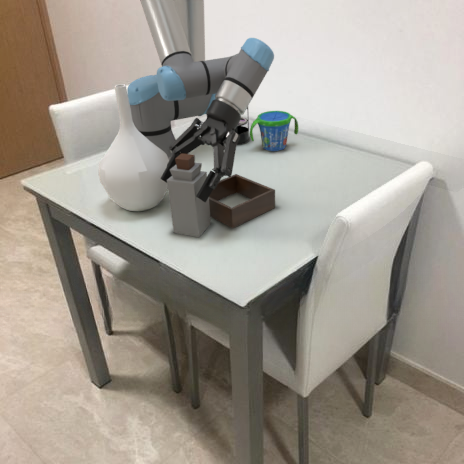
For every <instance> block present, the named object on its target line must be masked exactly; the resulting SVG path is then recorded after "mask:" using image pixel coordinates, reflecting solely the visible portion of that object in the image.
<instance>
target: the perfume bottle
mask: <svg viewBox="0 0 464 464" xmlns="http://www.w3.org/2000/svg"><path fill="white" fill-rule="evenodd" d="M180 153H181V152H180ZM195 159H196V157H195V154H192V153H188V154H183V153H181V154H180V155H179V156H178V157H176V158H175V161H176V165H175V166H174V167H172V168H171V169H170V172H171V174H172V176H171V177H170V178H169V179H168V180H167V186H168V190H167V193H168V200H169V207H170V215H171V222H172V229H173V234H178V235H184V236H189V237H195V238H200V237H201V236H202V235H203V234H204V232H205V231H206V230H207V229H208V228H209V227H210V226H211V224H212V218H211V217H210V206H209V197H208V199H207V201H206V203H205V202H203V201H202V200H200V199H199V198H197V197H196V196H197V194H198V192H199V190H200V189H201V187H202V185H203V183H204V181H205V180H206V178H207V176H208V172H207V171H204V170H203V171H202V166H203V163H202V162H196V161H195Z"/></svg>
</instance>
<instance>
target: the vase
mask: <svg viewBox="0 0 464 464" xmlns="http://www.w3.org/2000/svg"><path fill="white" fill-rule="evenodd" d="M127 89H128V88H127V85H126V84H124V83H120V84H116V85H114V92H115V93H114V94H115V98H116V105H117V112H118V118H119V129H118V133H117V134H116V136H115V138H114V139H113V141H112V142H111V144H110V146H109V148H108V149H107V150H106V152H105V153H104V154H103V155H102V157H101V158H100V160H99V161H98V178H99V181H100V184H101V185H102V187H103V189H104V191H105V192H106V194H107V195H108V197H109V198H110V200H112V202H113V203H115V204H116V205H117V206H119V207H120V208H122V209H123V210H125V211H130V212H143V211H148V210H150V209H153V208H155V207H157V206H158V205H159V204H160V202H162V201H163V199H164V197H165V195H166V194H167V193H168V186H167V183H166V182H165V181H163V180H161V179H160V178H161V177H162V175H163V173H164V171H165V169H166V167H167V164H168V162H169V159H168V157H167V154H166V153H165V152H164V151H162V150H161V149H160V148H158V147H157V146H156V145H154V144H153V143H152V142H150V141H149V140H148V139H147V138H146V137H145V136H144V135H142V134H141V133H140V132H139V131H138V130H137V128H136V127H135V125H134V123H133V121H132V115H131V109H130V104H129V99H128V93H127Z"/></svg>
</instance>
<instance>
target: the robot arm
mask: <svg viewBox="0 0 464 464" xmlns="http://www.w3.org/2000/svg"><path fill="white" fill-rule="evenodd" d="M140 5H141V8H142V10H143V14H144V16H145V19H146V22H147V25H148V29H149V32H150V34H151V37H152V41H153V43H154V47H155V49H156V52H157V56H158V59H159V61H160V65H161V66H160V67H158V68H157V70H156V73H155V74H154V75H153V74H150V75H149V74H148V75H145V76H142V77H138V78H137V79H134V80H132V82H130V83H129V84H128V87H127V88H126V89H127V94H128V99H129V104H130V109H131V115H132V121H133V123H134V125H135V127H136V128H137V130H138V131H139V132H140V133H141V134H142V135H144V136H145V137H146V138H147V139H148V140H149V141H150V142H152V143H153V144H154V145H156V146H157V147H158V148H160V149H161V150H162V151H164V152H165V153H166V154H167V157H168V159H169V162H168V164H167V167H166V169H165V171H164V173H163V175H162V177H161V178H160V179H161V180H163V181H165V182H166V183H167V180H168V179H169V178H170V177H171V176H172V174H171V172H170V169H171V168H172V167H174V166H175V165H176V161H175V158H176V157H178V156H179V155H180V154H181V153H183V154H191V152H193V151H194V150H196V149H197V148H199V147H200V146H204V145H206V146H211V147H212V153H213V168H212V169H211V170H210V171H209V172H208V173H207V178H206V180H205V181H204V183H203V185H202V187H201V189H200V190H199V192H198V194H197V196H196V197H197V198H199V199H200V200H202V201H203V202H205V203H206V201H207V199H208V197H209V196H210V194H211V192H212V190H213V189H215V188H216V186H217V185H218V183H219V181H220V180H222V178H224V177H230V176H232V175H233V169H234V163H235V159H236V151H237V146H238V145H237V143H238V141H239V139H240V136H239V135H238V134H237V133H236V132H235V131H234V130H235V129H236V127H237V125H238V124H239V122H240V120H241V117H242V115H244V114H245V112H246V111H247V107H248V108H249V105H250V103H251V102H252V100H253V98H254V97H255V95H256V93H257V91H258V89H259V87H260V86H261V84H262V82H263V81H264V79H265V77H266V76H267V74H268V72H269V71H270V68H271V66H272V64H273V62H274V60H275V54H274V51H273V49H272V48H271V47H270V46H269V45H268V44H267V43H266V42H264V41H263V40H261V39H259V38H256V37H249V38H247V39H246V40H245V41H244V43H243V44H242V45H241V47H240V50H239V52H238V53H236V54H233V55H230V56H226V57H225V56H224V57H219V58H213V59H206V34H205V33H206V32H205V30H206V29H205V28H206V27H205V0H140ZM204 115H206V118H205V120H204V121H202V120H201V119H200V118H198V117H202V116H204ZM189 118H194V119H193V121H192V122H191V124H190V125H189V127H187V128H186V129H185V130H184V131H183V132H182V133H181V134H180V135H179V136H178V137H177V138H176V137H175V135H174V132H173V130H172V121H178V120H184V119H189ZM225 140H226V143H225Z"/></svg>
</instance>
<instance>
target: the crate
mask: <svg viewBox="0 0 464 464" xmlns="http://www.w3.org/2000/svg"><path fill="white" fill-rule="evenodd" d="M235 194H238V195H240V196H243V197H245V198H247V199H248V200H246V201H243V202H241V203H239V204H237V205H235V206H233V207H232V206H229V205H228V204H225V203H223V202H222V201H221V200H224V199H226V198H228V197H231V196H233V195H235ZM209 206H210V218H211V219H213V220H215V221H217V222H218V223H219V222H220V223H221V224H223V225H225V226H227V227H229V228H231V229H235V228H237V227H239V226H241V225H243V224H244V223H247V222H249V221H251V220H254V219H255V218H257V217H259V216H261V215H263V214H265V213H267V212H270V211H272V210H274V209H275V208H276V189H275V188H272V187H270V186H267V185H264V184H261V183H259V182H257V181H254V180H252V179H250V178H248V177H245V176H242V175H240V174H237V173H234V174H232V175H231V176H230V177H228V176H226V177H225V178H223V179H220V181H219V183H218V185H217V186H216V188H215V189H213V190H212V192H211V194H210V196H209Z"/></svg>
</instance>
